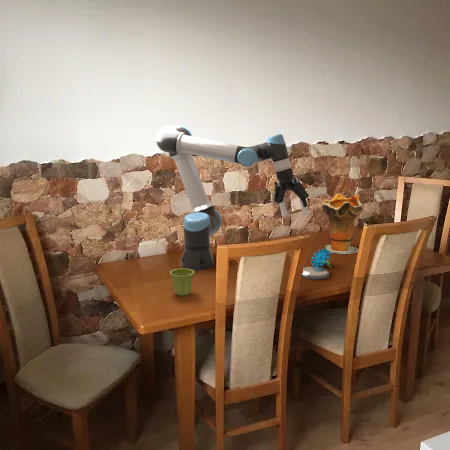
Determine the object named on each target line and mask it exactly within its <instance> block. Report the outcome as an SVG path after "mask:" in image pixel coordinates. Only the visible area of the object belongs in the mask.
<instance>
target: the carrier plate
mask: <svg viewBox="0 0 450 450" xmlns="http://www.w3.org/2000/svg"><path fill="white" fill-rule="evenodd" d="M302 268H303V273H302V277H301V278H303V279H306V280H311V281H312V280H313V281H317V280H319V281H320V280H325V279H328V278H329V277H330V271H329V270H328V269H326V268H323V267H321V266H319V267H316V266H315V267H314V266H305V267H302Z"/></svg>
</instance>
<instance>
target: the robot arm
mask: <svg viewBox="0 0 450 450" xmlns="http://www.w3.org/2000/svg"><path fill="white" fill-rule="evenodd" d="M155 142H156V145H157V147H158V148H159V150H160V151H163V152H164V153H168V155H169V159H171V160H173V161H174V163H175V165H176V168H177V170H178V174H179V176H180V179H181V181H182V185H183V187H184V190H185V193H186V195H187V198H188V200H189V204H190V207H191V209H190V210H191V211H190V213H188V214H187V215H185V216H184V219H183V223H182V224H183V225H182V226H183V242H184V243H183V244H184V247H183V248H184V249H183V253H182V256H181V259H180V266H181V268H183V269H191V270H193V271H195V270H196V271H197V270H198V271H199V270H200V271H201V270H206V269H210V268H212V267H213V266H214V265H215V259H214V256H213V253H212V250H211V236H213V235H215V234H216V233H217V232H218V231H219V230H220V228H221V226H222V223H223V222H222V221H223V220H222V219H223V218H222V215H221V214H220V212H219V211H218V210H216V209H215V206H214V204H213V203H211V202H210V201H209V199H208V196H207V193H206V190H205V186H204V184H203V182H202V181H203V180H201V176H200V173H199V171H198V168H197V165H196V162H195V159H194V156H198V157H204V158H209V159H214V160H217V161H218V160H219V161H224V162H228V163H229V162H230V163H235V164H238V165H241V166H242V167H252V166H254V165H257V164H258V163H261V162H265V161H267V160H270V159H271V161H272V166H273V168H274V169H273V170H274V171H275V176H276V180H277V181H275V182H274V184H273V185H274V198H273V202H274V203H277V204H278V207H279V210H280V212H281V216H282V218H284V217H287V216H288V215H289V213H288V210H287V207H286V206H287V205H286V203H285V201H284V197H285V194H286V193H287V192H286V191H289V190H290V191H292V192H293V193H294V194H295V195H296V196H297V198H298V199H300V200H299V202H300V203H299V204H300V206H301V210H302V214H303V216H305V215H308V214H309V213H310V212H309V208H308V205H309V204H308V202H307V201H308V200H307V199H308V198H309V197H310V194H309V193H308V192H307V190H306V188H305V187H304V185H303V184H302V183H301V180H300V177H296V178H294V171H293V168H292V164H291V163H292V162H291V159H290V157H289V151H288V148H287V143H286V141H285V138H284V135H283V134H282V133H278V134H275V135H271V136H268V137H266V142H263V143H260V144H255V145H252V146H242V145H237V144H231V143H227V142H221V141H218V140H217V141H216V140H210V139H206V138H201V137H194V136H193V135H192V132H191V130H190V129H188V128H187V127H186V126H184V125H179V124H177V125H176V124H175V125H172V126H164V127H162V128H161V129H160V130H158V132H157V134H156V137H155ZM193 155H194V156H193Z"/></svg>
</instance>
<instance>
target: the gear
mask: <svg viewBox="0 0 450 450" xmlns="http://www.w3.org/2000/svg"><path fill="white" fill-rule="evenodd" d="M317 252H318V253H317ZM317 252H314V253H313V255H314V256H312V257H310V258H311V261H310V263H311V265H312V267H320V268H323V267H324V265H325V266H327V267H329V268H330V269H331V268H332V266H331V262H330V261H329V260H330V259H331V252H329V250H328V249H327V250H325V249H324V248H322V250H321V249H318V251H317Z"/></svg>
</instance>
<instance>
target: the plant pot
mask: <svg viewBox="0 0 450 450" xmlns="http://www.w3.org/2000/svg"><path fill="white" fill-rule="evenodd" d="M169 273H170V276H171V278H172V285H173V289H174V294H175V295H177V296H186V295H190V294H191V291H192V290H191V289H192V282H193V276H194V275H195V270H192V269H186V268H183V267H181V268H176V269H173V270H170V272H169Z"/></svg>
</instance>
